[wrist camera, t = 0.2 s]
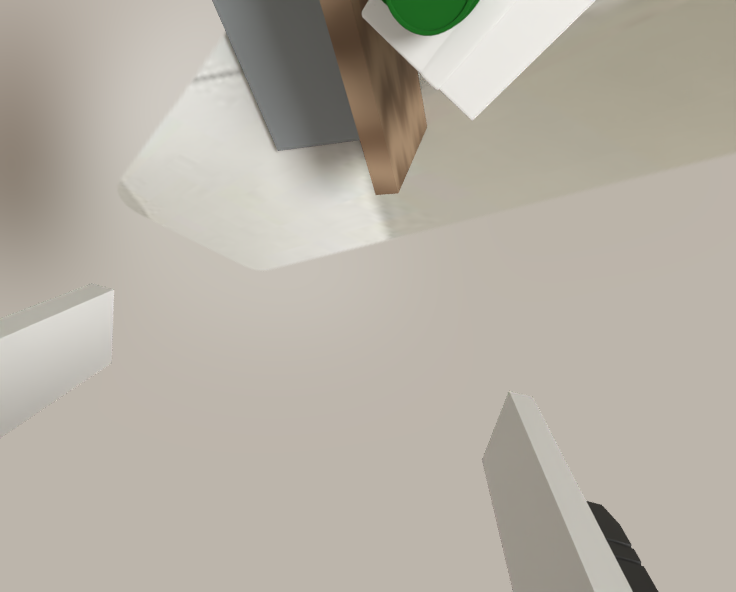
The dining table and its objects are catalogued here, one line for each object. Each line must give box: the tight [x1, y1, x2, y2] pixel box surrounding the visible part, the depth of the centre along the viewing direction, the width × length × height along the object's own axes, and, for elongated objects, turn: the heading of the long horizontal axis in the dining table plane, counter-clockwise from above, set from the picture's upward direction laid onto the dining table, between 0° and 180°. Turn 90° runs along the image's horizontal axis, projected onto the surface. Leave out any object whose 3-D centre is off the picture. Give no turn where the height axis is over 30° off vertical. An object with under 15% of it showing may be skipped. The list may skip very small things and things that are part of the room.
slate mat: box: [212, 0, 360, 151], centre depth 39 cm, size 20×13×1 cm, turn 15°
